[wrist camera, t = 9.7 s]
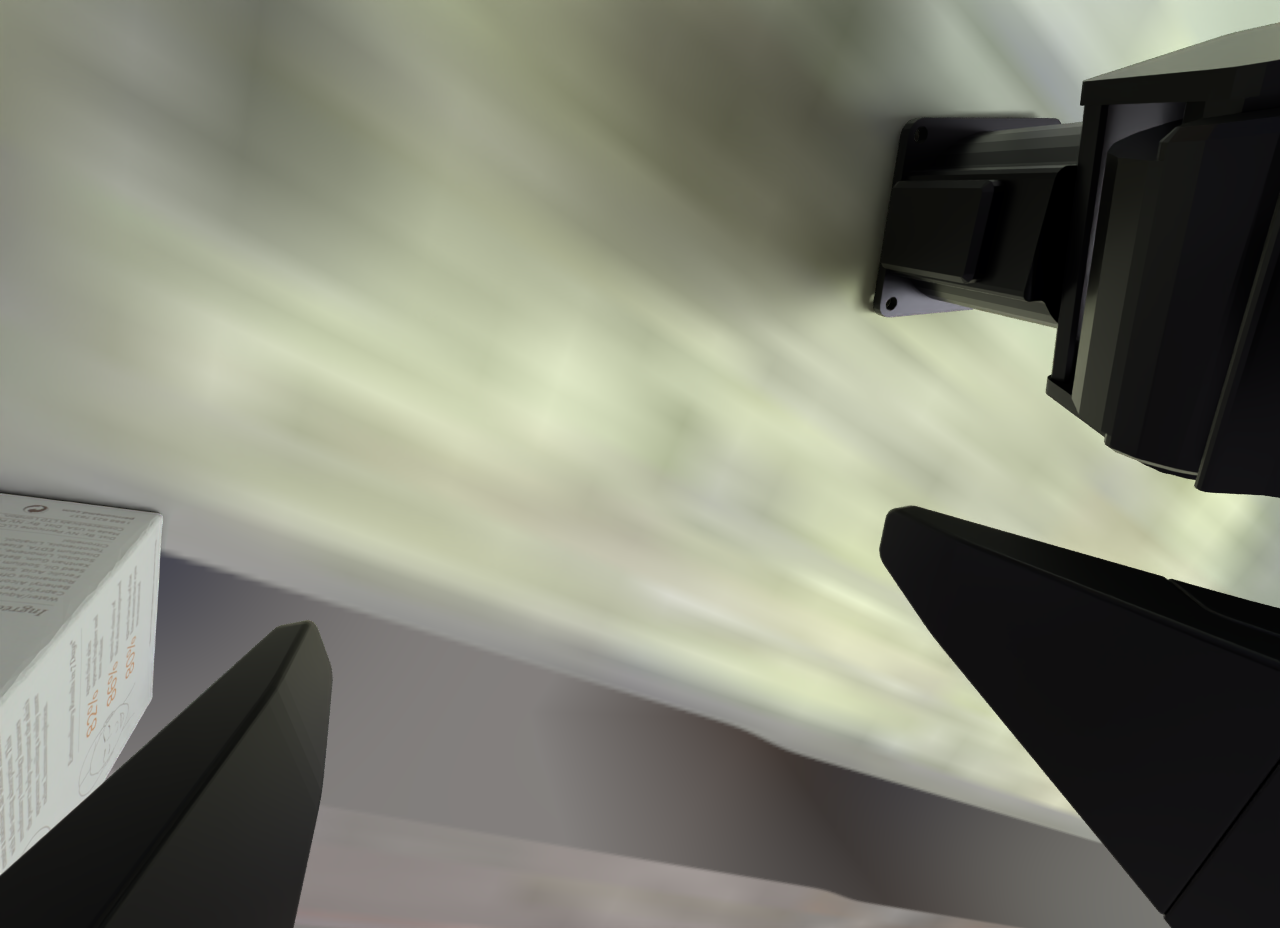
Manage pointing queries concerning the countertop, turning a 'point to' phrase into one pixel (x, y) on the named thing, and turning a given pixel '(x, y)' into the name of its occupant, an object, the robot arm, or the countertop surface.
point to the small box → (69, 653)
